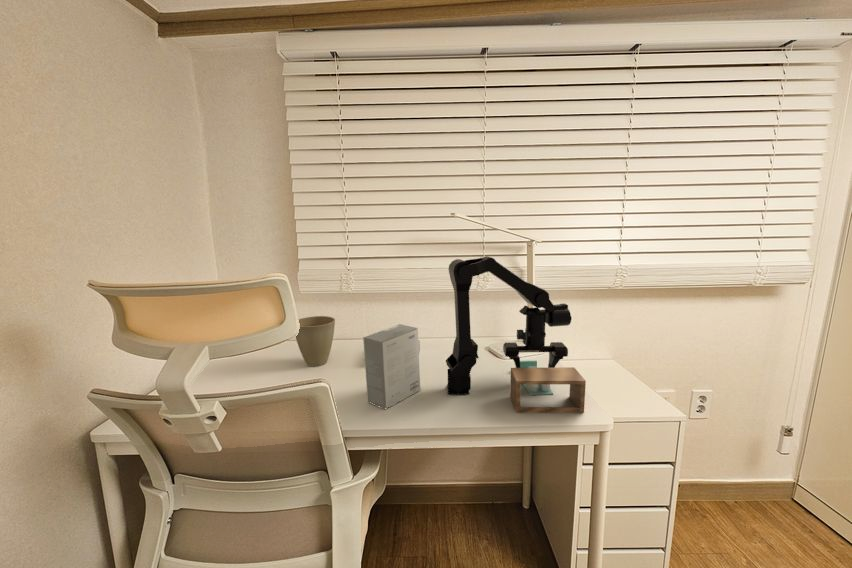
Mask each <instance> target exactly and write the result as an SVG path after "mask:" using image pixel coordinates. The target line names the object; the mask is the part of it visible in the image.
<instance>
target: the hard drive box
mask: <svg viewBox="0 0 852 568" xmlns="http://www.w3.org/2000/svg"><path fill="white" fill-rule="evenodd" d="M418 330H419V328H417V327H415V326H410V325H406V324H397V325H393V326H390V327H388V328H386V329H383V330H380V331H377V332H374V333H372V334H369V335H366V336H363V337H362V339H363V354H364V355H363V356H364V367H365V369H364V370H365V381H366V382H365V383H366V396H367V397H366V398H367V403H368V402H371V403H373V404H375V405H377V406H380V407H382V408H384V409H383V410H386V409H385V408H387V409H389V408H390V406H391V407H393V406H395V405H396V404H398V403H399V401H400V402H401V401H403V400H405V399H407V398H409V397H410V396H412V394H413V395H415V394H416V393H417V392H419V391H421V378H420V377H421V375H420V373H421V371H420V353H419V348H418V341H419V331H418ZM397 402H398V403H397ZM373 404H372V405H373ZM394 404H395V405H394ZM375 405H374V406H375ZM392 405H393V406H392ZM377 406H376V407H377ZM380 407H379V408H380ZM388 407H389V408H388ZM382 408H381V409H382Z"/></svg>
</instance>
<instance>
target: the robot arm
mask: <svg viewBox="0 0 852 568" xmlns="http://www.w3.org/2000/svg"><path fill="white" fill-rule="evenodd" d="M485 273H490V274H491V275H493V276H494V277H496V278H497V279H499V281H502V282H503V283H505V284H506V285H507V286H509V287H511V288H512V289H513V290H514V291H516V293H518V295H519V296H520V297H521V299H523V300H524V301H525V302H526V303H527V304H529V305H532V306H533V307H529V306H527V305H524V306H523V307H522V308H520V310H518V311H519V313H520V314H522V315H524V316H525V318H526V319H525V328H524V329H525V330H524V329H516V339H517V340H521V341H522V343H523V345H518V344H517V342H504V344H503V345H502V351H503V353H504V356H505V357H506V358H507V357H508V358H509V360H512V361H513V362H514V365H515V368H520V361H521V358H520V353H548V364H547V366H548V367H547V368H556V366H557V364H558V363H560V360H563V359H564V357H566V358H567V357H568V356H569V355H568V354H569V349H568V347H567V346H566V345H565V344H564V343H563V342H561V341H560V342H559V341H556V342H555V341H554V342H553V341H551V342H550V344H549V345H546V339H545V338H546V336H547V335H546V324H547V326H548V327H551V328H553V327H567V326H569V325H571V323H572V314H571V312H570V309H569V305H568V304H566V303H559V304H553V302H552V301H551V300H550V294H549V292H548V291H547V290H546V289H543V288H542V287H539V286H537V285H534V284H532V283H531V282H528V281H525V280H524V279H523V278H522V277H520V276H518V275H517V274H515V273H514V272H513V271H511V270H510V269H508V268H507V267H506V266H504V265H503V264H501V263H500V262H499V261H497V260H496V259H495V258H494V257H491V256H483V257H478V258H473V259H471V258H470V259H466V260H462V259H460V258H456V259H454V260H452V261H451V262H450V264H448V275H449V278H450V282H451V285H452V288H453V292H454V312H455V332H456V334H455V335H456V336H455V340H454V342H453V347H452V353H451V354H450V355H449V356H447V359H446V360H445V363H446V366H447V367H448V368H447V384H446V385H447V386H446V387H447V395H470V390H471V388H472V387H471V386H472V384H471V380H472V379H471V378H472V377H471V371H472V369H473V368H474V366H475V365H476V364H477V360H478V359H479V354H478V351H479V350H478V349H479V345H478V344H477V343H476V342H475V341H474V339H473V338H472V335H471V312H470V311H471V310H470V289H471V286H472V283H473V279H474V278H473V277H476V276H480V275H482V274H485ZM540 308H542V309H540Z"/></svg>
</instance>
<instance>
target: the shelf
mask: <svg viewBox="0 0 852 568" xmlns="http://www.w3.org/2000/svg"><path fill="white" fill-rule="evenodd" d="M536 384H550V385H569V399H570V400H571V401H572V402H573V405H574V406H571V407H570V406H569V407H568V406H564V407H563V406H557V407H556V406H555V407H554V406H524V407H523V406H521V385H523V386H524V385H536ZM509 385H510V390H509V391H510V392H509V398H510V400H511V403H512V405H513V408H514V410H515V413H585V403H586V402H585V401H586V398H585V397H586V379H585V378H584V376H582V374H580V372H579V371H578V370H577V368H575V367H573V366H572V367H571V366H570V367H555V368H548V367H537V368H516V367H510V384H509Z"/></svg>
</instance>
